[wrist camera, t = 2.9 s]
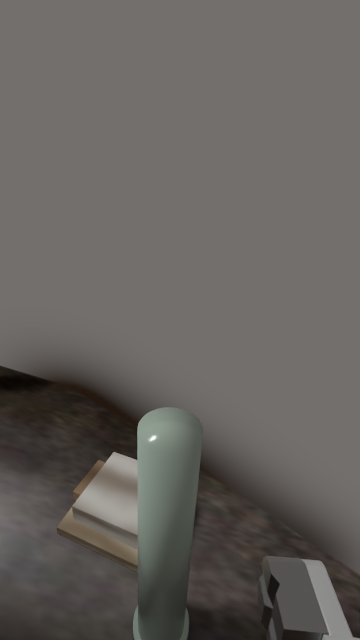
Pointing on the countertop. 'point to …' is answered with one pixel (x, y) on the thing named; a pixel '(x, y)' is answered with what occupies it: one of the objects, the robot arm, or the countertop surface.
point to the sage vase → (166, 520)
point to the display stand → (107, 511)
